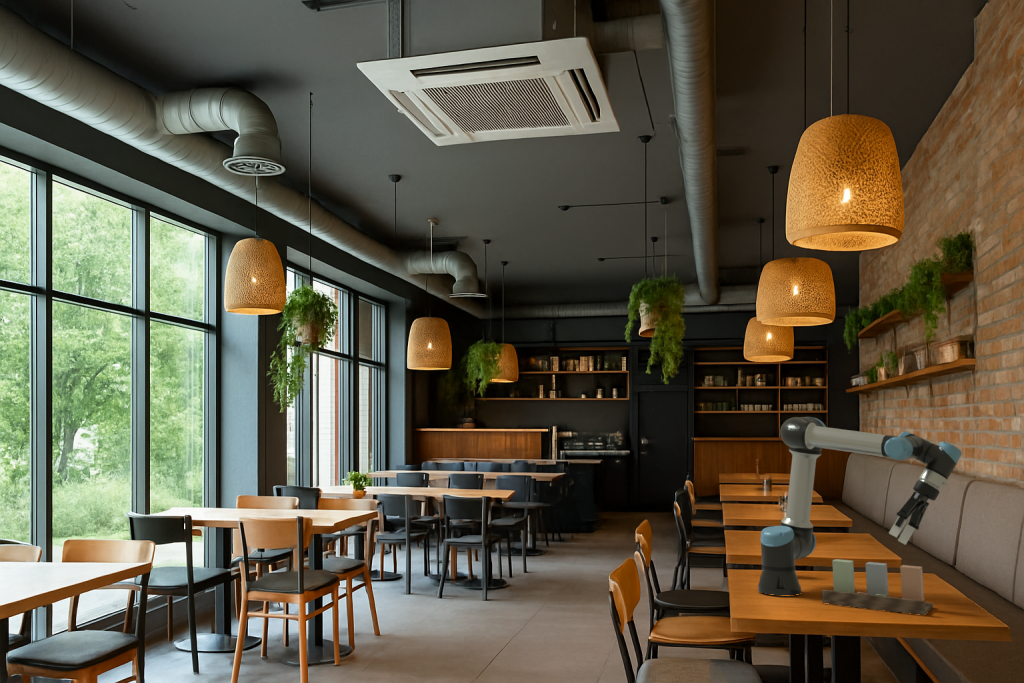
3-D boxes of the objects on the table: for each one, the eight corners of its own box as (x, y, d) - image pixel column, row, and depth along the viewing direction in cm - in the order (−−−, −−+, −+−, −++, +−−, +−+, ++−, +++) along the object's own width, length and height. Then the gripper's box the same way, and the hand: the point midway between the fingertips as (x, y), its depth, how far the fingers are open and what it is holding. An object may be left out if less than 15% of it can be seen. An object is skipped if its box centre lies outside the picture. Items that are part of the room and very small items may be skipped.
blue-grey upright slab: (867, 599, 278) (865, 563, 279) (870, 597, 281) (868, 562, 282) (886, 601, 274) (884, 565, 275) (888, 599, 277) (886, 563, 279)
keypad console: (822, 603, 280) (821, 588, 280) (833, 596, 291) (833, 581, 291) (924, 616, 261) (924, 599, 261) (932, 607, 272) (931, 592, 273)
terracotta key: (902, 603, 271) (900, 566, 272) (904, 601, 275) (902, 565, 276) (922, 605, 268) (919, 568, 269) (924, 603, 271) (922, 566, 272)
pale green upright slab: (834, 595, 284) (832, 560, 286) (837, 593, 288) (835, 559, 289) (852, 597, 281) (850, 562, 282) (855, 595, 284) (853, 560, 285)
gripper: (933, 482, 262) (899, 538, 262) (946, 498, 280) (915, 551, 280) (910, 470, 267) (877, 526, 267) (925, 488, 286) (894, 539, 285)
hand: (897, 539), depth 273 cm, fingers open, 13 cm apart
